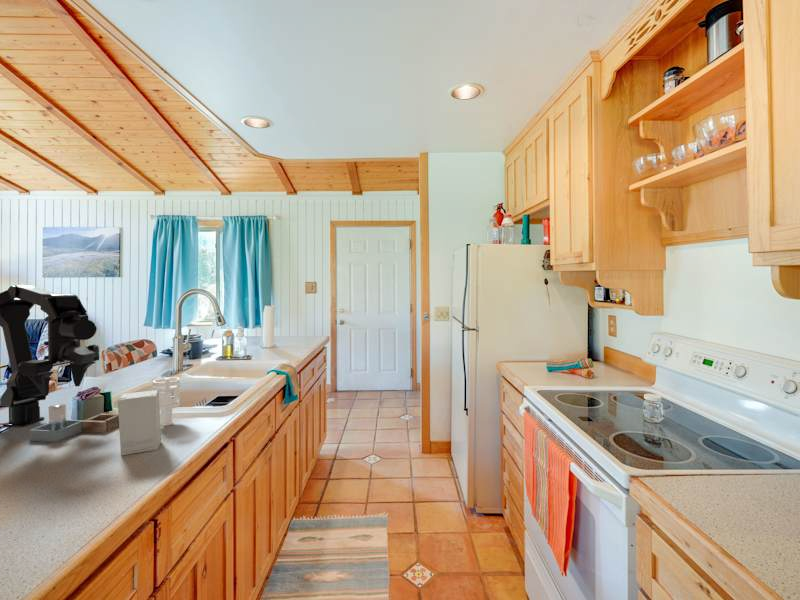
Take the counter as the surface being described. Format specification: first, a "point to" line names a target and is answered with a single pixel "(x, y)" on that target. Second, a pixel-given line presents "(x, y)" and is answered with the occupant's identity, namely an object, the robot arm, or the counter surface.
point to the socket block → (100, 423)
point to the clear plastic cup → (167, 397)
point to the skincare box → (139, 422)
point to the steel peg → (57, 417)
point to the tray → (56, 432)
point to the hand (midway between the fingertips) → (62, 390)
